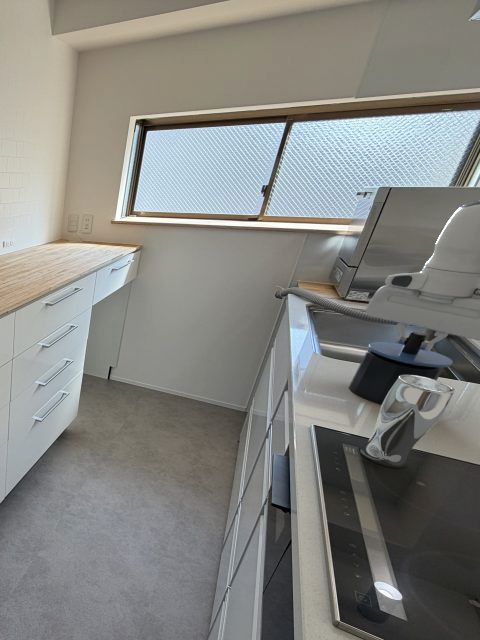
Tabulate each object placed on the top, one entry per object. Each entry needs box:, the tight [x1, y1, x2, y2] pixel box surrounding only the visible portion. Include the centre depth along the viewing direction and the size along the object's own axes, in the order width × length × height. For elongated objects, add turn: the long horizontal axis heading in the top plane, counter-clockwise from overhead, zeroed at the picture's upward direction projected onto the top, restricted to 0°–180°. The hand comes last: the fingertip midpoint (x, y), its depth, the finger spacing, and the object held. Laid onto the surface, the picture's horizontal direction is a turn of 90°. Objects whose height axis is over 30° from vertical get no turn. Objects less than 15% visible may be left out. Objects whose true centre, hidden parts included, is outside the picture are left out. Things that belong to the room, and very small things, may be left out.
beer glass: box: [359, 375, 456, 469], centre depth 70 cm, size 7×7×15 cm
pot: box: [348, 349, 445, 405], centre depth 94 cm, size 12×12×10 cm
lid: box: [367, 331, 454, 368], centre depth 91 cm, size 14×14×6 cm
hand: (412, 346), depth 91 cm, fingers closed on lid, 2 cm apart
